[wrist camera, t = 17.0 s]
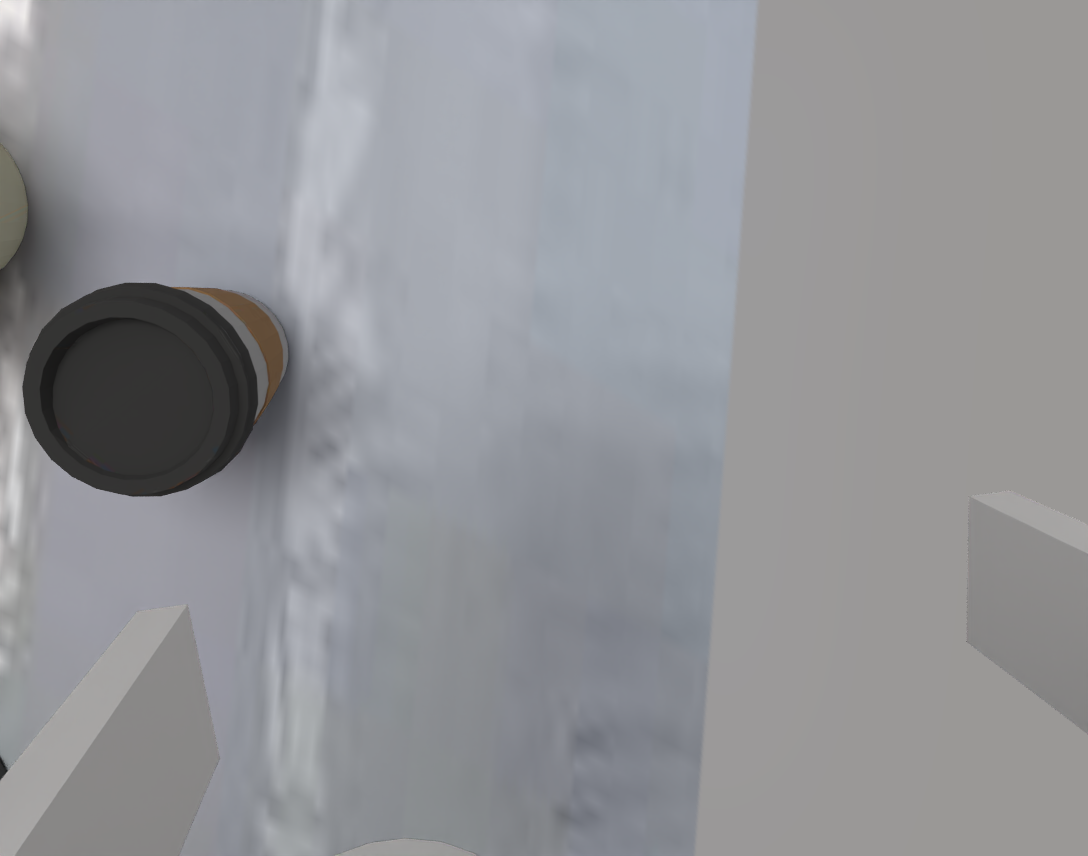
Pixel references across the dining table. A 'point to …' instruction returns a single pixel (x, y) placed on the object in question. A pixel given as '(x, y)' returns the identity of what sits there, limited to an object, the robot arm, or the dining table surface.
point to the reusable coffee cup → (11, 207)
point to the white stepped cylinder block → (407, 849)
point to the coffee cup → (152, 384)
